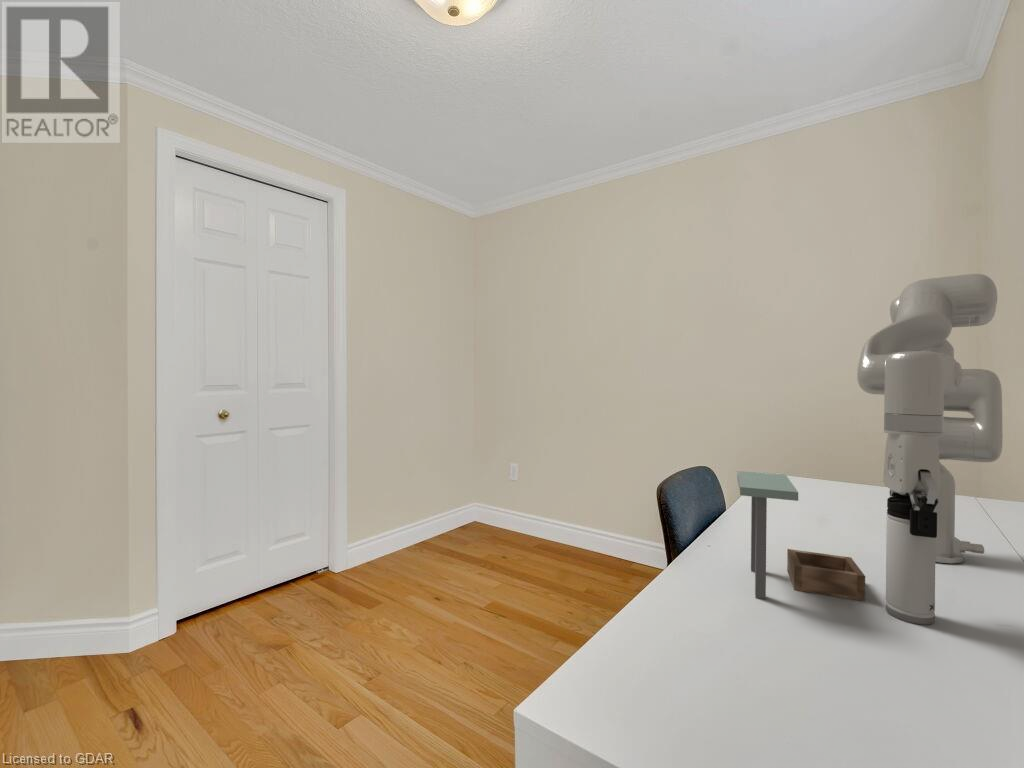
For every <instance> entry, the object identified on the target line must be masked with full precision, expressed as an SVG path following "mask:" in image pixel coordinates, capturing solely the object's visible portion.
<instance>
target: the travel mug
mask: <svg viewBox="0 0 1024 768" xmlns="http://www.w3.org/2000/svg"><path fill="white" fill-rule="evenodd" d="M919 500H920V498H918V502H919ZM886 505H887V506H886V508H887V509H886V534H885V535H886V536H885V538H886V540H885V542H886V543H885V545H886V547H885V548H886V549H885V559H886V560H885V561H886V562H885V610H886V612H887V613H888V614H889V615H891V616H892V617H894V618H896V619H897V620H901V621H902V622H903V621H904V622H908V623H911V624H915V625H931V624H932V625H933V624H934V623H935V621H936V619H935V618H936V617H935V615H936V614H935V611H936V562H935V549H936V538H930V537H922V536H914V535H912V534H910V509H913V506H912V503H911V499H910V496H894V497H892V496H889V497H888V498H887V499H886Z"/></svg>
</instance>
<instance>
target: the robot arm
mask: <svg viewBox="0 0 1024 768" xmlns="http://www.w3.org/2000/svg"><path fill="white" fill-rule="evenodd" d="M997 305H998V290H997V287H996V284H995V282H994V280H993V279H992V278H991V277H989V276H987V275H985V274H982V273H968V274H967V273H966V274H960V275H959V274H958V275H950V276H941V277H931V278H926V279H925V278H924V279H920V280H916V281H914V282H912V283H909V284H908V285H906V287H905V288H903V289H902V291H901V293H900V295H899V296H898V297H896V298H894V299H893V300H892V301H891V304H890V305H889V314H890V319H891V323H890V324H889V325H887V326H885V327H883V328H882V329H880V330H879V331H877V332H875V333H874V334H873V335H871V336H870V337H869V338H868V339H867V340H866V341H865V343H864V345H863V346H862V349H861V352H860V357H859V360H858V361H859V362H858V365H857V373H856V375H857V376H856V378H857V383H858V385H859V388H861V390H862V391H864V392H866V393H867V394H870V395H881V396H882V395H883V396H884V397H883V400H884V401H883V402H884V403H883V405H884V406H883V407H884V408H883V413H884V414H883V433H886V434H887V436H886V443H885V451H884V463H883V467H884V468H883V478H882V479H883V485H884V486H885V487H887V489H889V497H894V496H910V499H911V503H912V506H913V509H910V534H912V535H914V536H922V537H930V538H936V549H935V563H938V564H939V563H942V564H959V563H963V562H964V561H965V555H964V554H965V553H966V552H970V553H973V554H984V553H985V547H984V545H983V544H979V543H971V541H967V540H960V539H959V538H957V537H956V536H955V534H956V533H955V529H956V528H955V527H956V526H955V524H956V523H955V521H956V518H955V517H956V481H955V478H954V475H953V474H952V473H951V471H950V470H948V468H947V467H946V466H944V464H942V463H941V462H940V460H944V461H945V460H949V461H951V460H952V461H960V462H961V461H962V462H971V463H992V462H996V461H997V460H998V459H999V458H1000V456H1001V455H1002V452H1003V439H1004V438H1003V389H1002V384H1001V381H1000V379H999V377H998V375H997V374H996V373H995V372H994V371H991V370H989V369H984V368H968V369H967V368H962V366H961V363H960V362H958V361H957V360H956V359H955V348H954V347H953V345H952V344H951V343H950V342H949V340H947V339H948V338H949V336H950V335H951V334H952V333H951V332H952V329H953V328H965V327H966V328H967V327H970V328H971V327H981V326H985V325H988V324H989V323H990V322H991V321H992V320H993V319H994V317H995V313H996V309H997ZM944 411H945V412H964V413H969V414H971V416H973V417H957V416H956V417H955V416H954V417H953V416H952V417H951V416H944ZM918 498H920V500H919V502H918Z"/></svg>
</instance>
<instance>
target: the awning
mask: <svg viewBox="0 0 1024 768" xmlns="http://www.w3.org/2000/svg"><path fill="white" fill-rule="evenodd" d="M736 472H737V473H736V478H737V484H738V491H739V495H740V496H743V497H751V507H750V508H751V509H750V511H751V512H750V515H751V517H750V518H751V520H750V522H751V523H750V529H751V530H750V532H751V533H750V572H752V571H754V572H753V573H754V576H755V577H754V579H755V580H754V598H756V599H761V600H765V601H766V599H767V587H766V585H767V517H768V515H767V507H768V506H767V505H768V504H767V503H768V502H767V501H768V500H767V499H774V500H775V499H776V500H787V501H796V502H797V501H798V502H799V491H798V489H797V488H796V487H795V486H794V484H793V482H792V481H791V480H790V478H789V477H788V476H787V474H778V473H766V472H753V471H752V472H751V471H741V470H738V471H736Z"/></svg>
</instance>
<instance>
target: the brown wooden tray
mask: <svg viewBox="0 0 1024 768" xmlns="http://www.w3.org/2000/svg"><path fill="white" fill-rule="evenodd" d="M786 554H787V556H786V557H787V563H786V564H787V567H786V568H787V569H786V570H787V574H788V577H789V579H790V581H791V585H792V587H793V590H794V591H800V592H807V593H811V594H818V595H823V596H830V597H831V596H832V597H835V598H836V597H837V598H843V599H848V600H854V601H861V602H866V575H865V574H864V572H863V571H862V570H861V569H860V568H859V566H858V564H857V563H856V561H855V560H854V559H853V558H852V557H850V556H843V555H836V554H830V553H819V552H815V551H814V552H813V551H812V552H811V551H806V550H799V549H792V548H787V553H786Z"/></svg>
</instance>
